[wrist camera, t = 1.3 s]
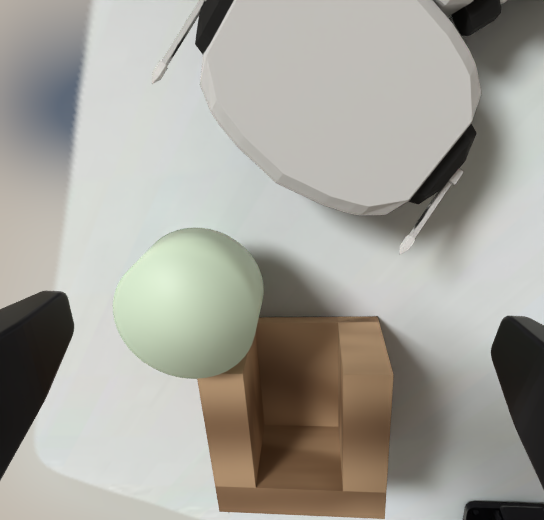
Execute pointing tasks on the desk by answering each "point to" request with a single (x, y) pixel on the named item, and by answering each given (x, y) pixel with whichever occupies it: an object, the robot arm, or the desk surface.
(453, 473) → the desk surface
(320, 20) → the robot toy
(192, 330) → the peg
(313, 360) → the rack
